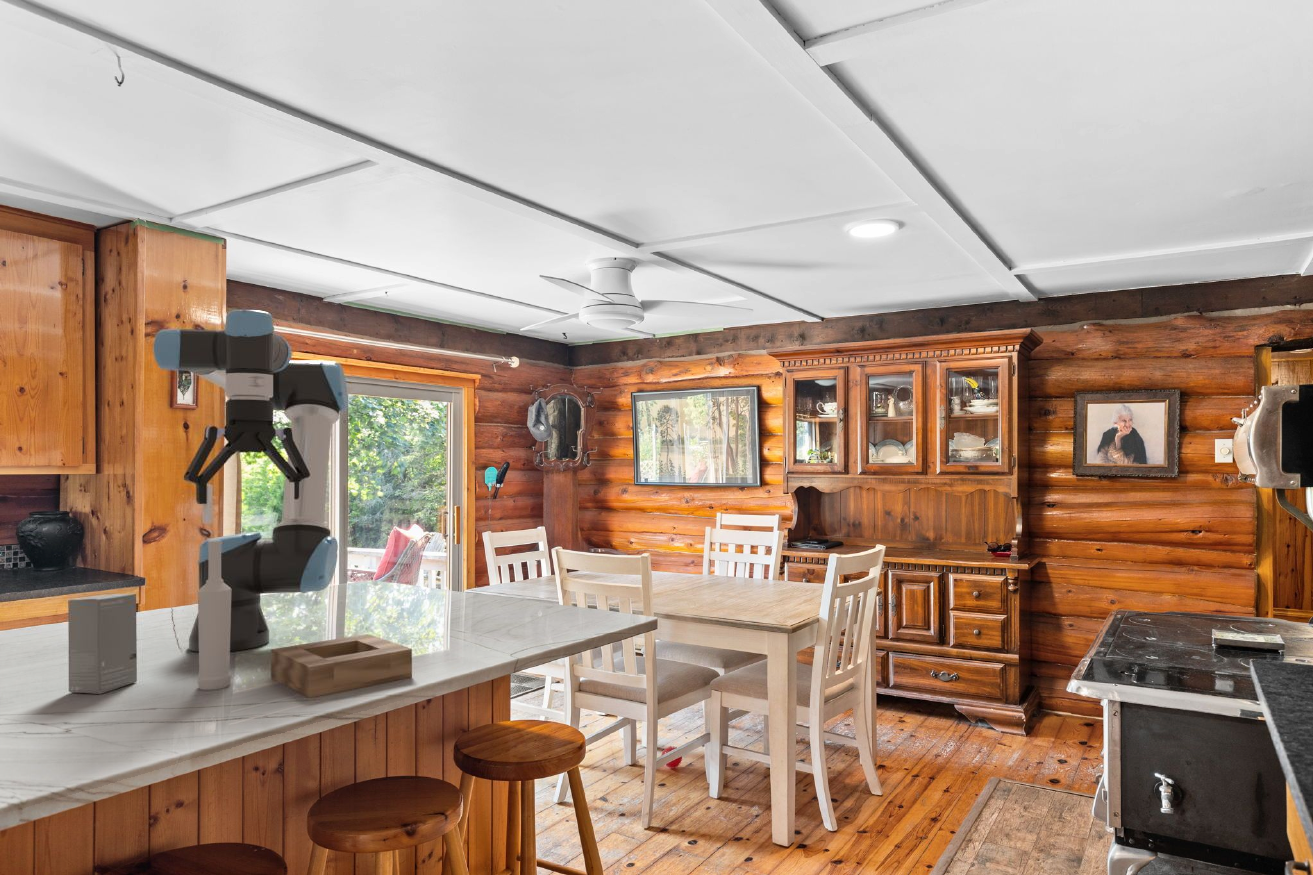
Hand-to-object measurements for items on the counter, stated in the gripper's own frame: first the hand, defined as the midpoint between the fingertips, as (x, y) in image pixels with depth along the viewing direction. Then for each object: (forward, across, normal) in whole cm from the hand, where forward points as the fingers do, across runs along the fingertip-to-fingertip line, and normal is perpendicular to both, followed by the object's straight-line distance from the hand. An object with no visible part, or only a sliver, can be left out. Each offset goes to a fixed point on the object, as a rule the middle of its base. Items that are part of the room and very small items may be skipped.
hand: (249, 521), depth 145 cm
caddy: (+28, +13, -8) cm, 32 cm away
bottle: (+28, -5, +3) cm, 29 cm away
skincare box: (+28, -18, +16) cm, 38 cm away
